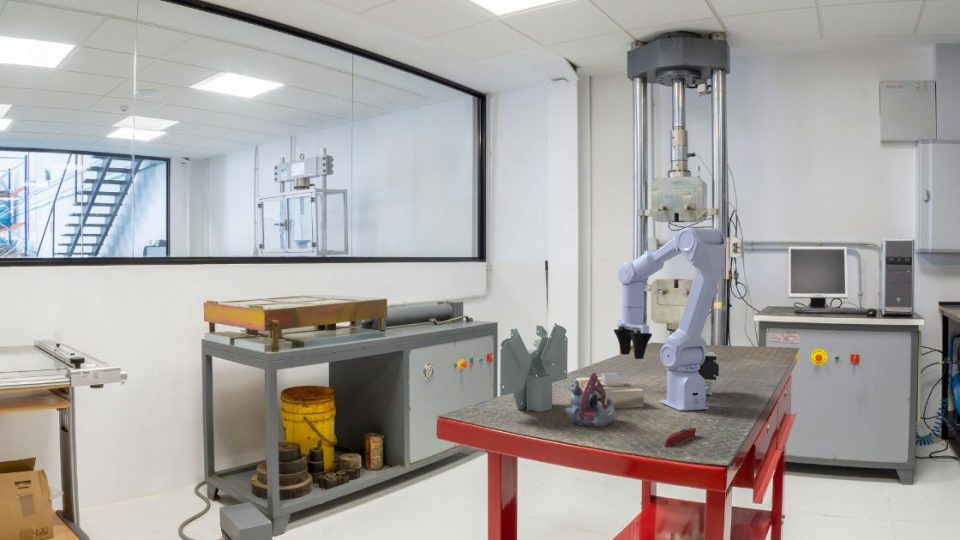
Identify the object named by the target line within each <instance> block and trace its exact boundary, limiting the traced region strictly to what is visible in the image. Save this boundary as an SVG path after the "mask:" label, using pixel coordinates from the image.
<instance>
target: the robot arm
mask: <svg viewBox="0 0 960 540" xmlns="http://www.w3.org/2000/svg"><path fill="white" fill-rule="evenodd" d="M727 244H728V241H726V238H725V236H724V234H723V232H722V231H721V230H720V229H719V228H713V227H712V228H703V227H702V228H699V227H698V228H695V227H691V226H689V227H688V226H687V227H684V228H683V229H681V230H679V231H677V232H675V236H674V237H673V238H672V239H670V240H669V241H667V242H666V243H665V244H663V245H662V246H661V247H660V248H659V249H657V250H653V249H646V250H644V251H643V254H641V255H640V256H639V257H636V258H633V260H632V261H631V262H622V263H621V264H620V266H619V267H618V269H617V278H618V282H620V283H621V320H616V329H615V328H614V329H613V332H614V334H615V336H616V338H617V341H618V345H619V349H620V353H621V355H623V356H625V355H628V356H629V355H630V353H631V348H633V355H634V359H635V360H643V359H644V358H645V357H644V356H645V354H646V349H647V346H648V344H649V342H650V340H651V338H652V336H653V334H652V332H651V333H650V325H647V324H646V323H644V296H645V295H644V290H645V289H646V286H647V285H646V283H647V282H648V280H649V277H650V276H652V275H654V274H656V273H657V272H659V271H660V270H662V269H663V267H664V266H665V262H667V261H669V260H671V259H672V258H674V257H676V256H678V255H680V254H682V255H683V256H684V257H685V258H686V260H687V261H688V262H689V263H690V264H691V265H692V266H693V267H694V269H695V274H694V277H693V280H692V284H691V287H690V289H689V292H688V296H687V300H686V302H685V305H684V309H683V311H682V315H681V318H680V320H679V321H680V322H679V323H678V327H677V329H676V330H675V331H674V332H673V333H671V334H670V335H669V336H668V337H667V340H666V342H665V343H664V344H663V345H662V346H661V348H660V353H659V357H660V361H661V363H662V365H663V366H664V369H665V370H666V399H660V400H659V402H660V404H662V405H663V404H664V405H666V406H668V407H671V408H673V409H676V410H678V411H679V412H680V411H682V412H686V411H697V410H709V409H710V408H709V406H707V394H706V388H707V386H706V382H705V380H704V378H703V377H702V376H701V375H699V373H698V370H699V369H700V365H702V364H703V362H704V360H705V349H706V347H707V345H708V344H707V341H706V340H705V339H704V337H702V333H703V330H704V327H705V325H706V320H707V318H708V315H709V312H710V310H711V306H712V304H713V300H714V298H715V295H716V291H717V288H718V286H719V282H720V280H721V277H722V274H723V269H724V254H725V251H726V248H727ZM631 344H632V345H633V347H631Z"/></svg>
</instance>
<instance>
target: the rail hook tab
mask: <svg viewBox="0 0 960 540" xmlns="http://www.w3.org/2000/svg"><path fill="white" fill-rule="evenodd" d="M600 377H601V384H602V387H624V382H625V380H624V378H625V374H624V373H621V372H601V373H600Z"/></svg>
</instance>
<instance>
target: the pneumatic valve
mask: <svg viewBox="0 0 960 540" xmlns="http://www.w3.org/2000/svg"><path fill="white" fill-rule="evenodd" d="M719 357H720V355H719V354H717V353H715V352H714V351H711V350H709V351H708V349H707V348H705V360H704V362H703V364H702V365H700V369H699V370H698V373H699V375H701V376H702V377H703V378H704V380H705V382H706V395H709V396H713V387H712V386H713V385H714V383H713V382H712V381H717V377H719V375H720V373H719V371H720V370H719V369H720V364H719V362H718V360H717V359H719Z"/></svg>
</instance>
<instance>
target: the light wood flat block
mask: <svg viewBox="0 0 960 540" xmlns="http://www.w3.org/2000/svg"><path fill="white" fill-rule="evenodd" d="M575 378H576V379H575V380H578V381H579V387H580V388H581V389H585V387H586V385H587V382H588V380H589V378H590V376H589V377H587V376H586V377H575ZM597 378H598V380H599V381H600V383H601V376H597ZM596 385H597V383H596ZM603 388H604V391H605V394H606V398H605V405H607V398H611V399H612V401H613V405H614V409H624V408H627V409H628V408H642V407H644V402H645V401H644V400H645V399H644V397H645V392H644V391H645V390H644V389H641V388H639V387H638V386H634V385H632V384H629V383H627V382H625V381H624V387H603ZM594 392H595V393H596V394H597V399H598V397H599V393H598V392H597V391H594Z"/></svg>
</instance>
